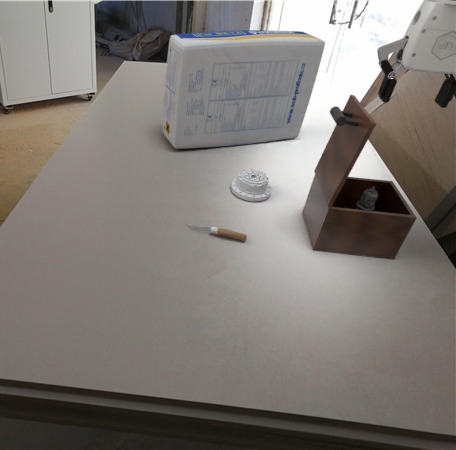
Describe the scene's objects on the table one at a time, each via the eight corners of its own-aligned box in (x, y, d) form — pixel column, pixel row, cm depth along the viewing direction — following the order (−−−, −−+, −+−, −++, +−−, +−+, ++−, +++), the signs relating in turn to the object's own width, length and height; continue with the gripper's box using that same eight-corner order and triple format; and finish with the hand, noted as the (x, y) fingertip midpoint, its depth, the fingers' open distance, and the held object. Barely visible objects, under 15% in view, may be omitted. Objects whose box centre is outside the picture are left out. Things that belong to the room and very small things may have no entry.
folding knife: (183, 230, 88) (184, 222, 87) (184, 225, 89) (185, 218, 88) (245, 244, 85) (246, 237, 84) (246, 239, 87) (247, 232, 85)
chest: (373, 220, 95) (392, 181, 88) (394, 259, 84) (417, 217, 77) (302, 212, 96) (315, 173, 89) (312, 250, 85) (328, 208, 78)
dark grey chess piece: (361, 244, 86) (383, 198, 79) (335, 232, 89) (354, 186, 82) (371, 232, 89) (393, 186, 82) (345, 221, 92) (364, 175, 85)
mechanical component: (246, 176, 108) (222, 189, 102) (249, 162, 105) (225, 174, 99) (278, 192, 102) (254, 207, 96) (282, 177, 99) (258, 191, 94)
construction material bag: (280, 124, 136) (305, 27, 118) (300, 139, 127) (329, 37, 109) (160, 136, 124) (166, 31, 106) (172, 153, 116) (181, 42, 98)
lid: (354, 95, 78) (330, 90, 78) (376, 123, 67) (348, 118, 67) (317, 171, 89) (296, 167, 89) (331, 207, 78) (307, 202, 78)
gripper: (411, -10, 58) (367, 106, 69) (537, -1, 57) (473, 115, 68) (393, -16, 64) (355, 90, 75) (507, -8, 63) (452, 99, 74)
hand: (411, 102), depth 71 cm, fingers open, 9 cm apart
